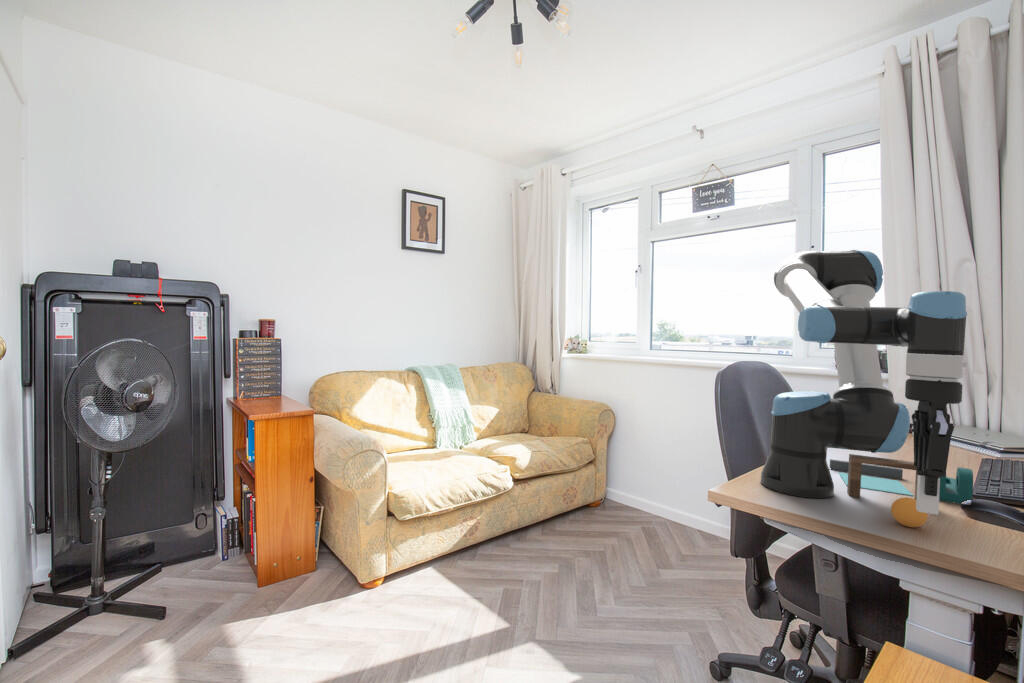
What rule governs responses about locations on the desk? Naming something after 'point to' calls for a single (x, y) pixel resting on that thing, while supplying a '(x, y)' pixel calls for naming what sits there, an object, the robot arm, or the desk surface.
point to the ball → (908, 513)
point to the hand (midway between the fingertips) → (927, 511)
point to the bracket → (957, 486)
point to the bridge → (857, 461)
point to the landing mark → (879, 484)
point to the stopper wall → (869, 469)
